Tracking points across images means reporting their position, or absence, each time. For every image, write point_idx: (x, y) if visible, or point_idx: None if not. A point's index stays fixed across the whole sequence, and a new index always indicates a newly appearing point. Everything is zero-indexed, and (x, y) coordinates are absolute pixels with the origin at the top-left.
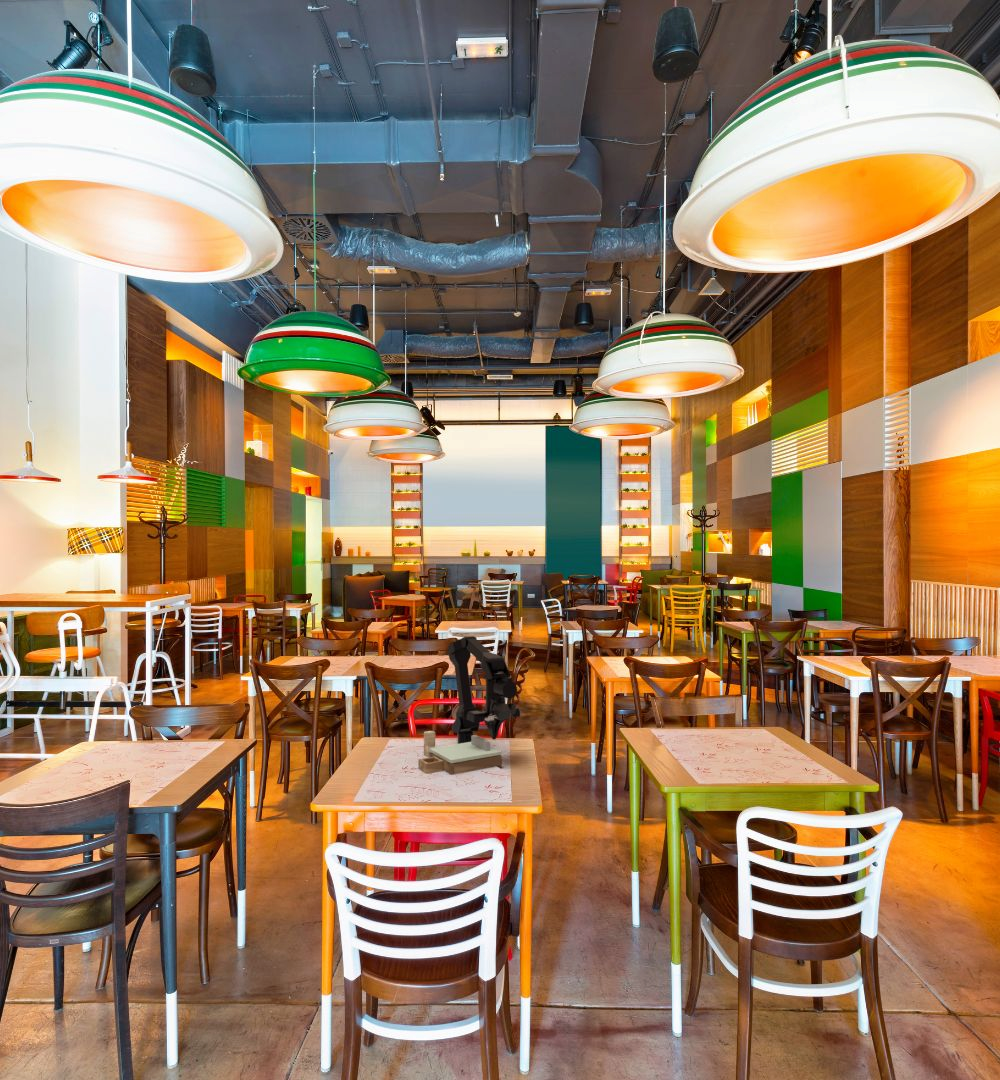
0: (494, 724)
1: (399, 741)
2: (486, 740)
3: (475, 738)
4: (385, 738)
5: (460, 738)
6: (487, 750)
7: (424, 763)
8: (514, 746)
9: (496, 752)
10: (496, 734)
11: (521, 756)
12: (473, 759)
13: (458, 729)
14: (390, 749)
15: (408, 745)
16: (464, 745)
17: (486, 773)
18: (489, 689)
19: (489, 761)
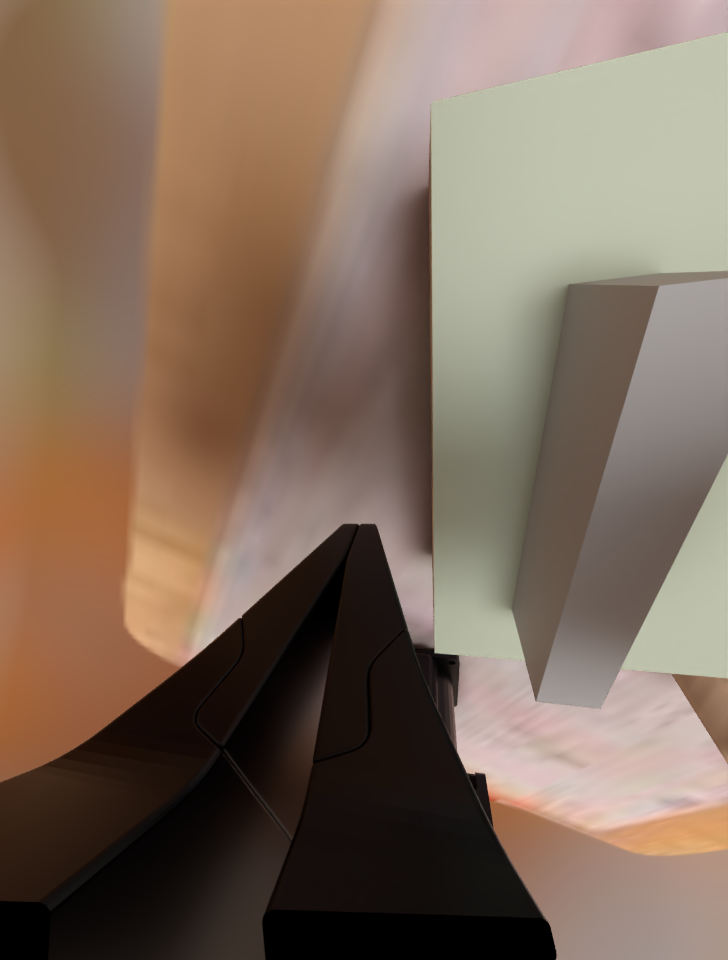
0: (323, 827)
1: (592, 811)
2: (649, 417)
3: (625, 628)
4: (607, 838)
5: (452, 735)
6: (630, 278)
7: None
8: (180, 595)
9: (560, 72)
10: (317, 561)
11: (171, 444)
12: None
13: (490, 816)
14: (715, 791)
15: (603, 782)
16: (652, 617)
17: None
18: None
19: None
